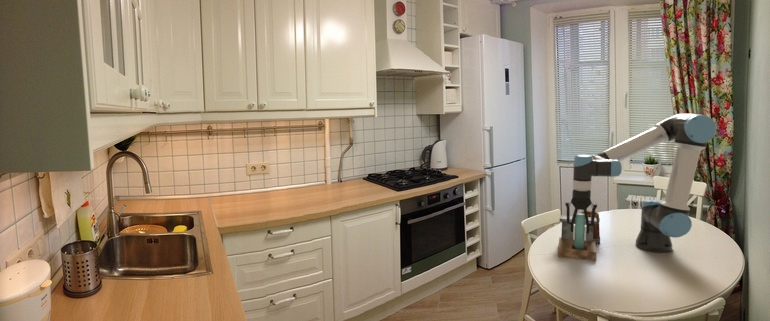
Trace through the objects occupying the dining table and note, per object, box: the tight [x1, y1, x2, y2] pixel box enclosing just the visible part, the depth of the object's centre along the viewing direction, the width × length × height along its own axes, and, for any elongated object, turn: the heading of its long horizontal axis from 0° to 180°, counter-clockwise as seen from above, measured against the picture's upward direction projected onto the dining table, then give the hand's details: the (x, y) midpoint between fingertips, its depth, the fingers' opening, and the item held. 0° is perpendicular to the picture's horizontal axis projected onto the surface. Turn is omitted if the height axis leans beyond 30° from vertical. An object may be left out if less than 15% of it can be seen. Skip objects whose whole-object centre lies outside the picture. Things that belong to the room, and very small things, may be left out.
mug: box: [580, 208, 601, 246], centre depth 227 cm, size 16×11×15 cm
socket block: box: [557, 214, 598, 262], centre depth 210 cm, size 16×17×15 cm
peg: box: [574, 212, 585, 250], centre depth 205 cm, size 4×4×16 cm
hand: (579, 239), depth 206 cm, fingers closed on peg, 4 cm apart
